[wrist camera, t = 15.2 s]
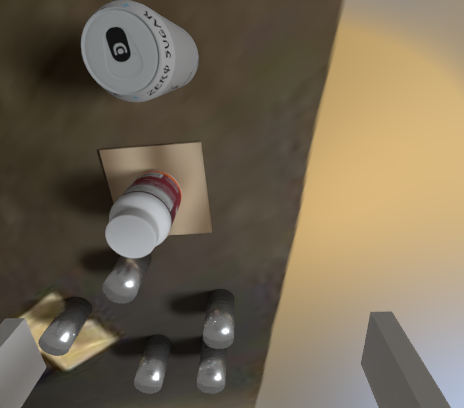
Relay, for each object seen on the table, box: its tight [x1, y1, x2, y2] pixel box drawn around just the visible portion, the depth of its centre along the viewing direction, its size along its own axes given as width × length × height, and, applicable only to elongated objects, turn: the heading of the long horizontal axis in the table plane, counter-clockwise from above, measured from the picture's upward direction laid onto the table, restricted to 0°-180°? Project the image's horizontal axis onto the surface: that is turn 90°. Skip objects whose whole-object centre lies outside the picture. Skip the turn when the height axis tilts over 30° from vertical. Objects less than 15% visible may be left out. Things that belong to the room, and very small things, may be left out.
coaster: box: [99, 141, 212, 235], centre depth 38 cm, size 12×12×1 cm
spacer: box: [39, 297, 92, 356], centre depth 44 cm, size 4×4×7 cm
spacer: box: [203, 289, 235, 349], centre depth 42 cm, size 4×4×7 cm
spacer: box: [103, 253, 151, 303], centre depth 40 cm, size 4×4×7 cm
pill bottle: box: [105, 170, 182, 258], centre depth 33 cm, size 6×6×11 cm
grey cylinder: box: [197, 340, 227, 394], centre depth 46 cm, size 4×4×7 cm
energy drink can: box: [81, 0, 199, 102], centre depth 25 cm, size 6×6×15 cm
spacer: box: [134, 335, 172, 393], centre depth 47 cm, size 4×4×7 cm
